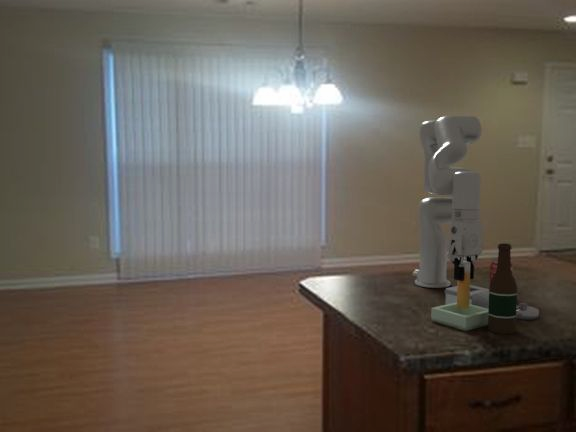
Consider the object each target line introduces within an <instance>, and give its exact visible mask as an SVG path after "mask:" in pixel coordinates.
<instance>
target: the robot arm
mask: <svg viewBox="0 0 576 432" xmlns="http://www.w3.org/2000/svg"><path fill="white" fill-rule="evenodd" d="M482 129H483V128H482V123H481V121H480V119H479V118H478V117H477V116H475V115H471V114H469V115H443V116H441V117H439V118H438V119H431V120H426V121H423V122H422V123H421V124H420V127H419V139H420V144H421V147H422V149H423V154H424V164H423V165H424V166H423V167H424V169H423V188H424V191H425V192H426V193H428V194H431V195H438V196H442V197H438V196H436V197H435V196H434V197H433V196H430V197H426V198H423V199H421V200H420V201H419V203H418V207H417V210H418V218H419V219H418V220H419V234H420V235H419V269H415V270H414V271H413V272H412V276H416V279H415V280H414V284H415V285H416V286H418V287H422V288H431V289H442V288H449V287H451V281H450V280H448V279H447V263H448V261H447V260H449V261H451V263H452V266H453V280H455V281H458V280H459V281H464V270H465V268H464V267H463V262H464V261H469V262H471V264H470V280H474V278H475V265H476V263H477V259H478V257H480V255H481V254H482V253H483V250H484V243H483V242H484V238H483V234H484V233H483V226H482V225H483V224H482V220H481V219H480V215H481V214H480V212H481V185H482V184H481V183H482V181H481V179H482V178H481V174H480V172H478V171H476V170H475V169H466V168H465V167H461V166H459V167H458V166H456V167H455V166H451V165H453V164H456V163H459V162H460V161H462V160H464V159H465V157H466V155H467V153H468V146H469V145H472V144H475V143H477V142H478V141H479V140H480V139H481V136H482V131H483V130H482ZM450 166H451V167H450ZM443 196H452V197H443ZM441 225H449V231H448V232H449V233H448V236H447V233H446V231H444V229H443V228H442V227H441Z"/></svg>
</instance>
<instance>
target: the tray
mask: <svg viewBox="0 0 576 432" xmlns="http://www.w3.org/2000/svg"><path fill="white" fill-rule="evenodd" d="M488 310H489V309H487V308H483V307H479V306H475V305H471V304H469V308H458V307H457V302H456V303H451V304H447V305H445V304H444V305H439V306H434V307H431V312H430V315H431V316H430V317H431V318H430V321H431V322H435V323H438V324H441V325H444V326H448V327H450V328H454V329H458V330H461V331H464V332H467V331H471V330H475V329H478V328H482V327H485V326H488Z"/></svg>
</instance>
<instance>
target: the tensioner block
mask: <svg viewBox="0 0 576 432" xmlns="http://www.w3.org/2000/svg"><path fill="white" fill-rule="evenodd" d="M457 286H458V285H455V286H452V287H451V286H449V287H445V290H444V294H445V302H444V303H445V304H444V305H447V304H451V303H456V302H457ZM469 304H471V305H475V306H479V307H483V308H487V309H489V288H485V287H481V286H477V285H473V284H470V298H469Z"/></svg>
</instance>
